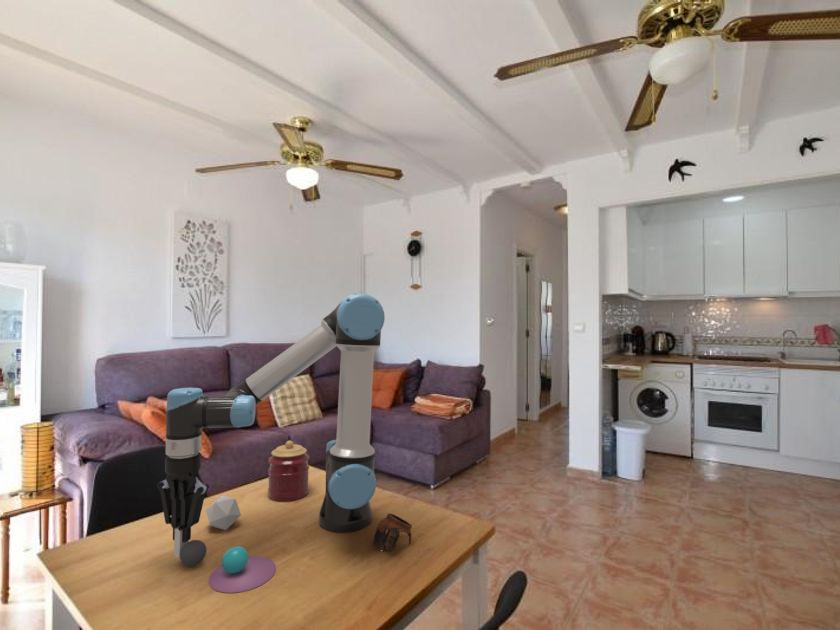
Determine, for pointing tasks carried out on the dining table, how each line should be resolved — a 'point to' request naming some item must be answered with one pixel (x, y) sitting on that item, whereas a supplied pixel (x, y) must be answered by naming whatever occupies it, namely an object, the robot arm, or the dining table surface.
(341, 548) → the dining table surface
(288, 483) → the canister
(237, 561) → the object ball
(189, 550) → the dark grey ellipsoid
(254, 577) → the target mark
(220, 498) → the die
